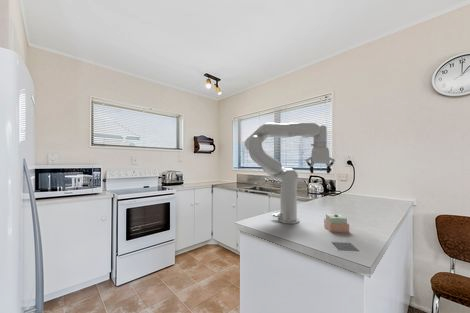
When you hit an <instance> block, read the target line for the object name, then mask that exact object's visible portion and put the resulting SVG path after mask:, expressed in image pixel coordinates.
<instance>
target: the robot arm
mask: <svg viewBox="0 0 470 313" xmlns="http://www.w3.org/2000/svg"><path fill="white" fill-rule="evenodd" d="M299 136H301V137H302V138H313V143H310V145H311V148H312V149H311V152H310V153H311V155H310V157H308V158H305V160H304V161H305V163H306V164H307V165H308V166H309V172H310V173H311V174H314V165H316V164H318V165H319V164H320V165H322V164H323V165H324V164H325V165H326V173H327V174H330V173H331V168H332V166H333V165H334V163H335V162H336V159H334V158H332V157H331V155H330V150H329V147H328V146H327V142H328V141H327V140H328V139H327V137H328V136H327V126H326V125H323V124H322V125H321V124H318V123H315V122H289V123H285V122H284V123H283V122H281V123H278V122H266V123H263V124H261V125H260V126H259V127H258V128H257V129H255V131H254V132H253V133H252V134H250V135H249V136H248V137H247V138H246V139H245V140H244V147H245V148H246V150H248V154H249V156H250V158H251V160H252V161H253V162H254V164H255V163H256V164H257V165H258V166H259V167H261V168H262V170H263V172H265V173H266V174H267V175H268V176H270V177H271V178H273V179H275V180H277V181H278V182H279V183H280V193H279V194H280V195H279V196H280V208H279V210H280V211H279V212H277V213H274V212H273V213H272V217H273V218H277V221H278V222H279V223H283V224H287V225H290V224H291V225H294V224H298V223H300V218H299V217H298V216H297V215H298V210H297V209H298V204H297V203H298V202H297V201H298V199H297V198H298V196H297V195H298V193H297V192H298V191H297V190H298V181H299V175H298V173H297V171H296V170H295V169H293V168H290V167H284V166H283V165H282V162H281V161H280V160H278V159H277V158H275V157H273V156H272V155H270V154H269V153H267V152H266V151H265V150H264V148H263V142H264V141H265V140H267V138H286V139H287V138H293V137H299ZM330 161H331V162H330Z"/></svg>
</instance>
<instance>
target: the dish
mask: <svg viewBox="0 0 470 313" xmlns="http://www.w3.org/2000/svg"><path fill="white" fill-rule="evenodd" d="M323 226H324V228H325V229H326V230H328V231H329V233H346V234H347V233H350V223H348V222H347V224H337V223H330V222H329V221H328V220H327V219H326V217H325V218H323Z"/></svg>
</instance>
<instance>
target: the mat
mask: <svg viewBox="0 0 470 313" xmlns="http://www.w3.org/2000/svg"><path fill="white" fill-rule="evenodd" d="M330 243H331V244H332V245H333V247H335V248H336V249H337V251H341V252H342V251H344V252H345V251H346V252H349V251H350V252H360V250H359V249H358V248H357V247H356V246H355V245H353V243H351V242H342V241H341V242H339V241H338V242H337V241H331V242H330Z"/></svg>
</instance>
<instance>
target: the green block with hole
mask: <svg viewBox="0 0 470 313" xmlns="http://www.w3.org/2000/svg"><path fill="white" fill-rule="evenodd" d="M325 219H327V220H328V221H329V222H330V223H337V224H347V223H348V218H347V217H345V216H343V215H342V214H340V213H339V214H338V213H337V214H334V213H332V214H331V213H326V214H325Z"/></svg>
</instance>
